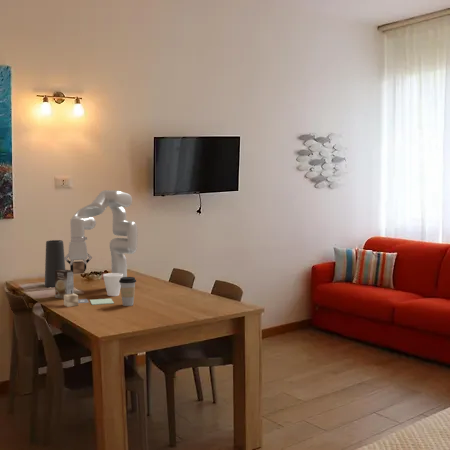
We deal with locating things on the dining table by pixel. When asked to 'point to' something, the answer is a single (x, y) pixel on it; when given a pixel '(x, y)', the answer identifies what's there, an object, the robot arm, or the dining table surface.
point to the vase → (53, 260)
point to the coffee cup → (127, 290)
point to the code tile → (83, 301)
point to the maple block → (70, 300)
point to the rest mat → (101, 301)
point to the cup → (112, 283)
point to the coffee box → (63, 283)
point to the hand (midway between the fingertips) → (78, 271)
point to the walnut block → (78, 267)
